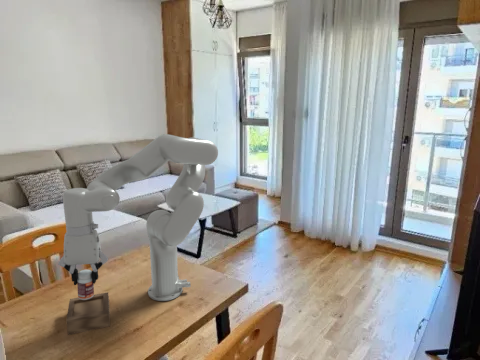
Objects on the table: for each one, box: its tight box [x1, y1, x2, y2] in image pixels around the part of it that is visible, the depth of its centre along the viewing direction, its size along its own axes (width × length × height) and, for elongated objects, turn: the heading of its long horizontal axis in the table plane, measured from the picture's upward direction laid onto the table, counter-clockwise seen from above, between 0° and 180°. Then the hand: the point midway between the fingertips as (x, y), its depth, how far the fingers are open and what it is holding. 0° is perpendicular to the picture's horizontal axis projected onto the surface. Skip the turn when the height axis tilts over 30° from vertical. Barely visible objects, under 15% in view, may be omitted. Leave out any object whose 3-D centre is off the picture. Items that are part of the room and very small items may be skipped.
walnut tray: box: [65, 291, 111, 336], centre depth 113 cm, size 12×12×5 cm
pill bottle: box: [76, 269, 95, 300], centre depth 110 cm, size 5×5×8 cm
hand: (85, 281), depth 110 cm, fingers closed on pill bottle, 4 cm apart
